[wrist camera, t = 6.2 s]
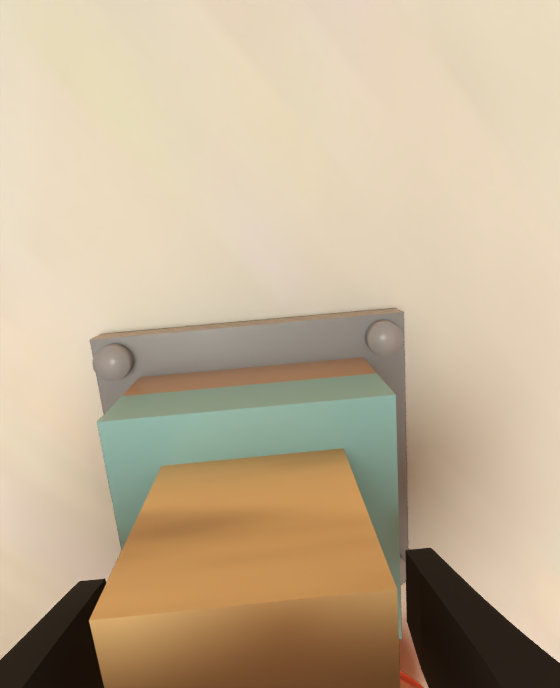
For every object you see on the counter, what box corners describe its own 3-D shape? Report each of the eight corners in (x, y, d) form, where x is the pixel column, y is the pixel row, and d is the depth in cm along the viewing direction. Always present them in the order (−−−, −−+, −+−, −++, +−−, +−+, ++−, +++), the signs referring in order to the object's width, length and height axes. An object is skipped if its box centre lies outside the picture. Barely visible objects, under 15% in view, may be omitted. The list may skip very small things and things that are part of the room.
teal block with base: (401, 560, 19) (449, 672, 14) (145, 585, 18) (103, 707, 14) (395, 308, 16) (451, 335, 11) (100, 334, 16) (28, 373, 11)
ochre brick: (352, 600, 13) (404, 813, 8) (186, 617, 13) (139, 841, 8) (343, 448, 12) (397, 589, 7) (161, 466, 12) (88, 620, 7)
